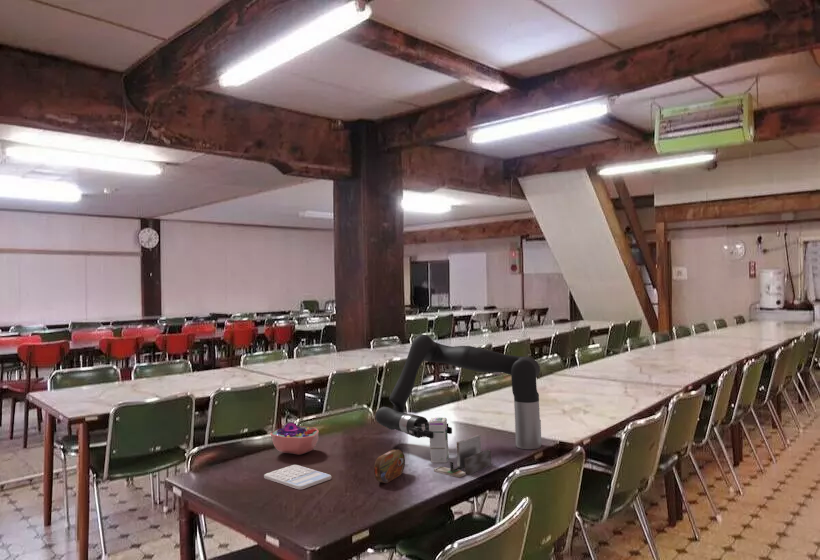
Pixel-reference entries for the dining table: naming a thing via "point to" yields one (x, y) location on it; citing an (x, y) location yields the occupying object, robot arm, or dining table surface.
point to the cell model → (295, 438)
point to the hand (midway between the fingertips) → (442, 433)
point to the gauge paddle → (466, 451)
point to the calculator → (297, 477)
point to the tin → (389, 466)
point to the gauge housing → (469, 464)
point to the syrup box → (439, 440)
